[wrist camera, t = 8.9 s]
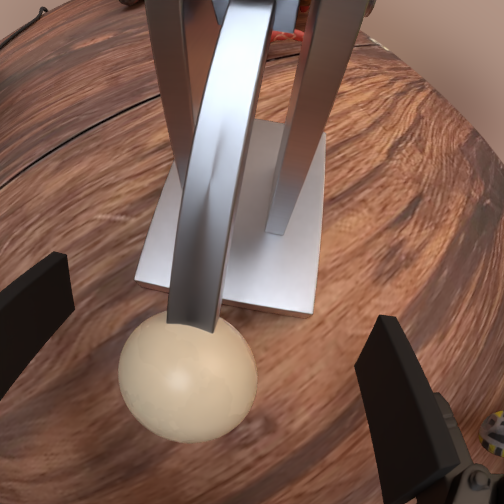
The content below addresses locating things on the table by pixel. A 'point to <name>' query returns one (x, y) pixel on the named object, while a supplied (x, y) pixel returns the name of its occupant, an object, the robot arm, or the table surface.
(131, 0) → the figurine
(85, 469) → the table surface
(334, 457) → the table surface
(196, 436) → the lever
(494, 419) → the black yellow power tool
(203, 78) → the bracket
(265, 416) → the table surface
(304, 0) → the rock
